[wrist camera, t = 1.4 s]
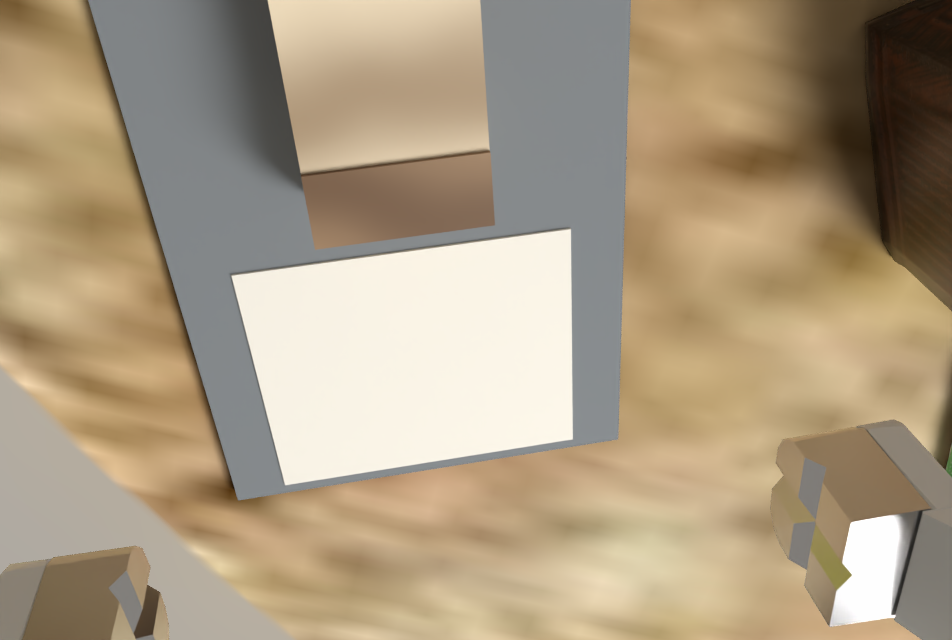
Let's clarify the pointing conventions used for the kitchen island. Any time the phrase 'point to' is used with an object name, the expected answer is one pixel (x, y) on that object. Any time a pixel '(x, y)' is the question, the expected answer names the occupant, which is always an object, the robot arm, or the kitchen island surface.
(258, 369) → the mat
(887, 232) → the manual coffee grinder
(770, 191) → the kitchen island surface
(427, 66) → the tan rectangular block
